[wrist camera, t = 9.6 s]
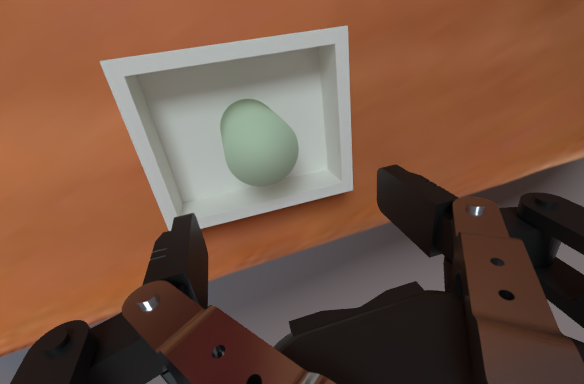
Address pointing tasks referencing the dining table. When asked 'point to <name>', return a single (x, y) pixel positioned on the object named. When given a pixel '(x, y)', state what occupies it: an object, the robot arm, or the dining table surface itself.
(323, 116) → the serving dish
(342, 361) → the robot arm
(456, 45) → the dining table surface
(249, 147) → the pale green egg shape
